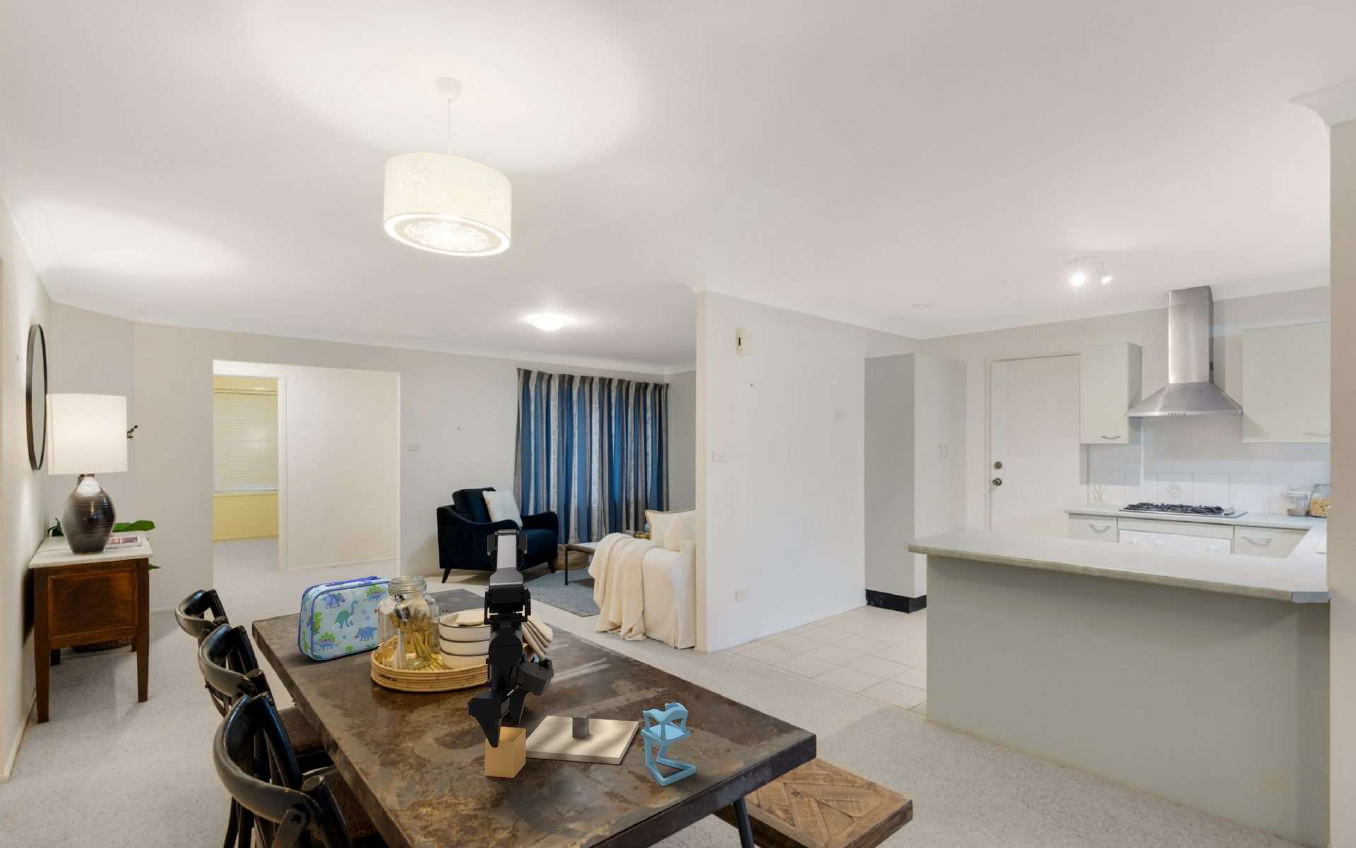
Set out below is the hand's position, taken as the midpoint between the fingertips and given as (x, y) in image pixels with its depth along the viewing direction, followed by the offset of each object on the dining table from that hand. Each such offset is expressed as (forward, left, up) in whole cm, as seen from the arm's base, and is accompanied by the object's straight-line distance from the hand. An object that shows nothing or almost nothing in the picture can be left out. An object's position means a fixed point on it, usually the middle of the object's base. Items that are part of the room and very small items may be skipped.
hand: (505, 735), depth 119 cm
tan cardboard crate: (0, 0, -6) cm, 6 cm away
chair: (+29, +4, -6) cm, 30 cm away
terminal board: (+10, +13, -6) cm, 17 cm away
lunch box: (-75, +59, -6) cm, 96 cm away
